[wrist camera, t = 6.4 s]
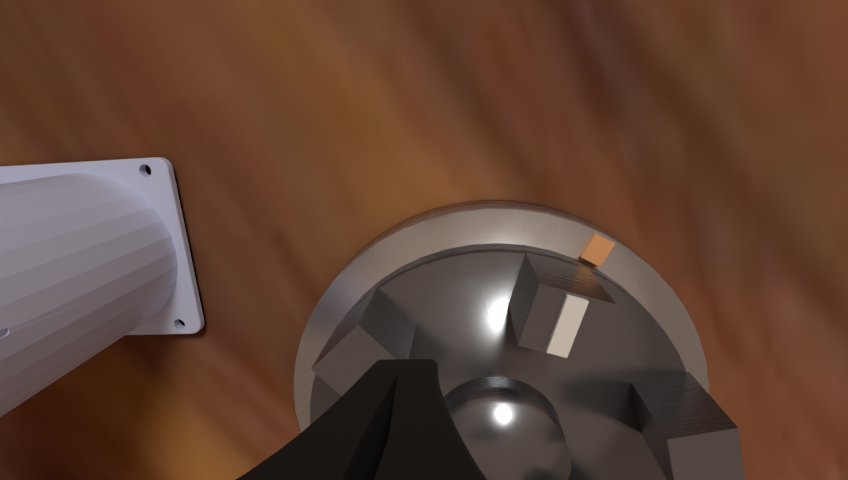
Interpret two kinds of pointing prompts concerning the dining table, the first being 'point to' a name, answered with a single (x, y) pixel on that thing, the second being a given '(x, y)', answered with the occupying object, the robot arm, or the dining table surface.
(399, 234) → the cap base
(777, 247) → the dining table surface
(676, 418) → the finned metal hub
